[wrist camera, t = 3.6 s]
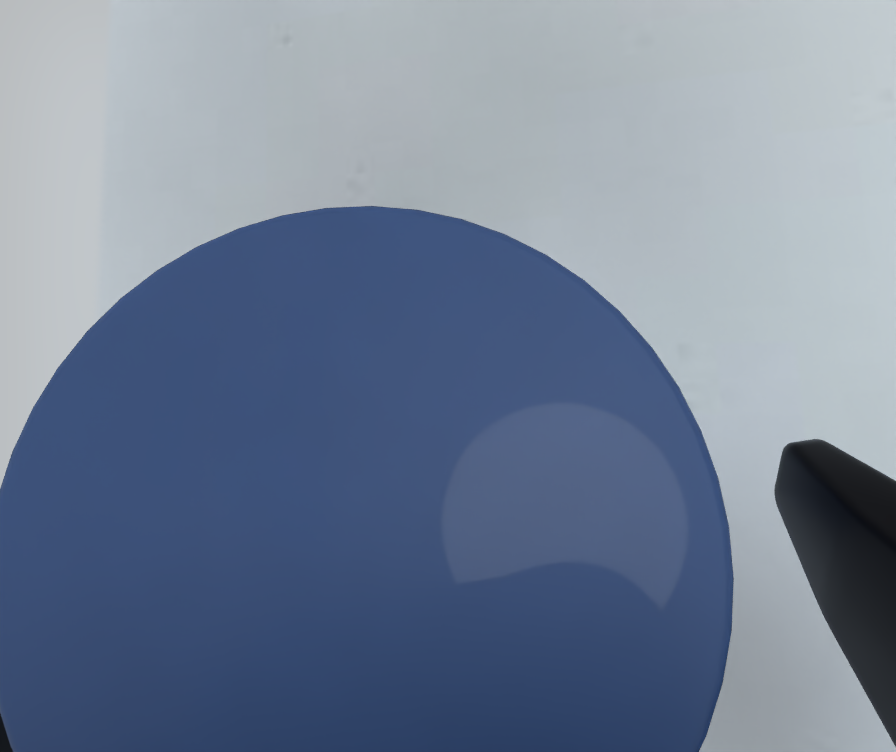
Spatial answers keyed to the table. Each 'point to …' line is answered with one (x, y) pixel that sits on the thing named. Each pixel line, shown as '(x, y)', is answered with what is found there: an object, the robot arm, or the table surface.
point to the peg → (362, 510)
